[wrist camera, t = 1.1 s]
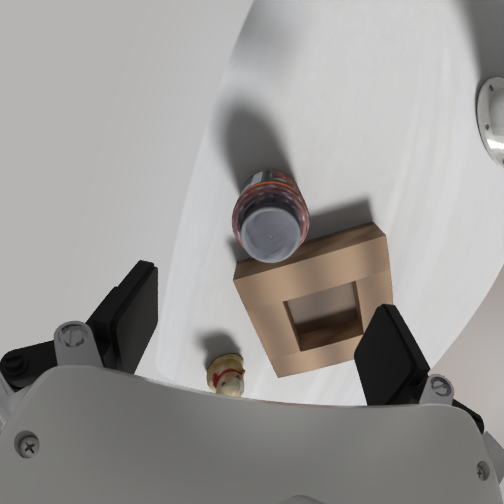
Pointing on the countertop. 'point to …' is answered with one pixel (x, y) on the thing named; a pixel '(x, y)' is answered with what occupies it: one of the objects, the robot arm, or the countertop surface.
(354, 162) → the countertop surface
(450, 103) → the countertop surface
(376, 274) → the socket block
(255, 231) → the supplement bottle
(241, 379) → the chocolate bunny
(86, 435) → the robot arm
